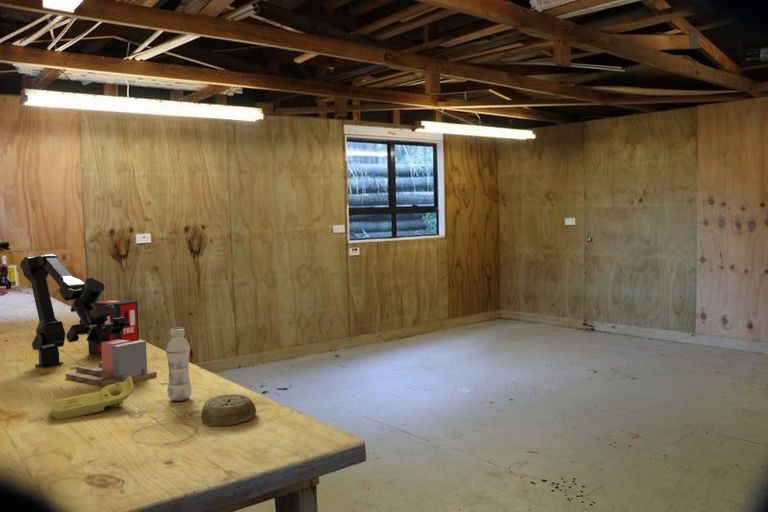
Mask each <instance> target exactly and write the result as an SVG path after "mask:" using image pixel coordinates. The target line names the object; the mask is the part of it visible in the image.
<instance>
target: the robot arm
mask: <svg viewBox="0 0 768 512" xmlns="http://www.w3.org/2000/svg"><path fill="white" fill-rule="evenodd" d="M19 266H20V269H21V270H22V273H23V276H24V277H25V278H26V279H27V280H28V281H29V282H30V285H31V290H32V293H33V297H34V302H35V303H34V304H35V308H36V311H37V316H38V320H39V322H38V324H37V327H36V329H35V333H36V336H35V337H34V338H33V341H32V343H31V347H32V350H34V351H38V363H37V364H34V366H35V367H39V368H40V367H41V368H50V367H55V366H59V365H62V364H64V362H63V361H60V351H59V350H60V349H59V348H60V347H64V344H65V341H66V340H67V341H68V342H69V343H74V342H79V338H80V336H83V335H86V336H87V338H86V340H85V341H87V342H88V341H91V342H93V343H96V344H98V345H100V346H101V342H107V341H110V334H112V335H113V334H119V333H121V332H122V331H123V329H124V327H125V326H126V324H127V323H128V322H127V321H126V319H125V318H124V317H120V318H114V319H113V320H112V321H111V323H107V324H105V322H106V321H107V320H108V318H107V317H108V316H110V315H112V314H113V313H114V312H115V311H116V309H115V306H114V305H113V304H112V303H111V304H107V305H105V306H98V307H95V306H94V304H93V303H96V302H97V301H99V299H100V297H101V296H102V294H103V292H104V291H105V288H106V287H105V284H104V283H102V282H100V281H99V280H96V279H95V278H94V277H87V278H86V280H85V282H84V281H83V280H81V279H80V278H77V277H73V276H72V274H71V273H70V272H69V271H68V270H67V268H65V266H64V265H63V264H62V263H61V262H60V260H58V256H57V255H55V254H53V253H50V254H48V253H47V254H42V255H38V256H37V255H36V256H26V257H25V256H24V257H23V259H22V260H21V261H20V265H19ZM48 276H50V277H51V278H52V279H53V280H54V281H55V283H56V284H57V285H58V286H59V290H58V291H59V294H60V295H61V297H62V299H63V300H64V301H66V302H68V301H69V302H71V301H73V303H72V304H71V308H70V312H71V313H74V312H75V313H76V314H77V317H78V318H79V321H78V322H79V323H78V324H71V326H70V327H69V330H68V331H67V334H66V331H65V328H64V324H63V322H62V321H61V320H60V321H59V320H58V319H57V318H56V315H55V312H54V308H53V303H52V299H51V293H50V289H49V285H48V281H47V278H48Z"/></svg>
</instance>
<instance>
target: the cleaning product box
mask: <svg viewBox="0 0 768 512" xmlns="http://www.w3.org/2000/svg"><path fill="white" fill-rule="evenodd" d="M111 303H112V304H113V305H114V306H115V309H116V311H115V312H114V313H113V314H112V315H110V316H108V317H107V318H108V320H107V321H106V322H105V324H107V323H111V321H112V320H113V319H114V318H120V317H124V318H125V319H126V321H127V322H128V323H127V324H126V326H125V327H124V329H123V331H122V332H121V333H119V334H113V335H112V334H110V341H112V340H117V339H120V340H127V341H130V342H133V341H138V340H140V331H139V309H138V308H139V307H138V306H139V305H138V300H123V299H122V300H119V299H102V300H101V299H100V300H98V301H97V302H96V303H93V304H94V306H95V307H98V306H105V305H107V304H111ZM87 342H88V343H87V344H88V346H87V348H88V355H89V356H91V355H93V356H101V357H102V350H101V346H100V345H98V344H96V343H93V342H91V341H87Z"/></svg>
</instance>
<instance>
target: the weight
mask: <svg viewBox="0 0 768 512" xmlns="http://www.w3.org/2000/svg"><path fill="white" fill-rule="evenodd" d="M256 414H257V408H256V405H255V403H254V402H253V401H252V399H251V398H250V397H248V396H246V395H242V394H222V395H217V396H214V397H211V398H209V399H207V400H206V401H205V402H204V404H203V407H202V410H201V416H200V417H201V422H202V423H203V424H206V425H208V426H210V427H211V426H212V427H219V426H220V427H221V426H233V425H236V424H237V425H238V424H240V423H243V422H248V421H249V420H251V419H252V418H253V417H254V416H256Z"/></svg>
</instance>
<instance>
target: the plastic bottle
mask: <svg viewBox="0 0 768 512" xmlns="http://www.w3.org/2000/svg"><path fill="white" fill-rule="evenodd" d="M185 335H186V333H185V327H173V328H170V337H171V338H170V339H169V341H168V343H167V345H166V347H165V352H166V357H167V362H168V363H167V365H168V383H167V390H166V391H167V397H168V398H169V400H170V401H174V402H181V401H185V400H189V398H191V395H192V391H193V390H192V384H191V379H190V371H189V368H190V364H189V363H190V362H189V360H190V352H191V351H190V350H191V346H190V343H189V342H188V340H187V339H186V338H185Z"/></svg>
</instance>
